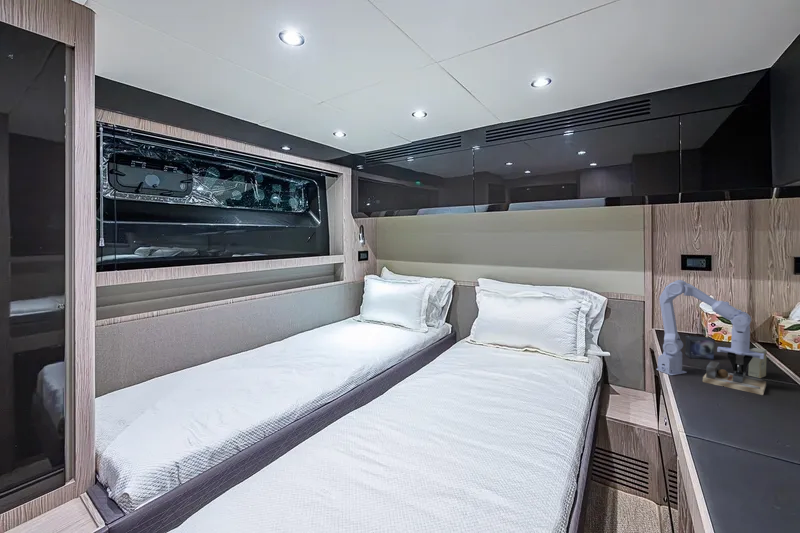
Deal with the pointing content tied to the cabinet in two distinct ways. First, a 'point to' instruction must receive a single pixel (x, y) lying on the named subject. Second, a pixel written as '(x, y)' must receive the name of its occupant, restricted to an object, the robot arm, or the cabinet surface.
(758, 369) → the skincare box
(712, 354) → the small box
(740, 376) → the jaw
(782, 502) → the cabinet surface
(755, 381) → the press
